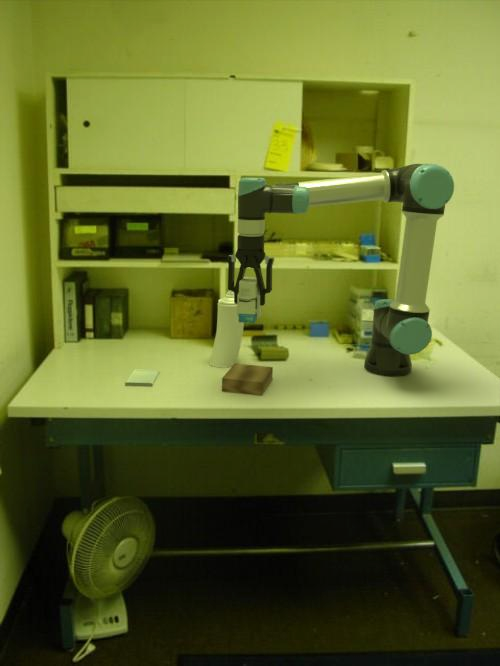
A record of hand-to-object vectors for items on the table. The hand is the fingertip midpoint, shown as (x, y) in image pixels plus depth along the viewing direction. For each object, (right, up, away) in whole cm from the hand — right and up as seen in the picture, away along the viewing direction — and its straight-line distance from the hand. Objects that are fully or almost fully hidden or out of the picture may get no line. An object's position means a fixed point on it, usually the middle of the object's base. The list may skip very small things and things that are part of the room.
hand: (249, 315), depth 178 cm
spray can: (-7, -15, +26) cm, 31 cm away
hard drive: (-32, -20, +9) cm, 39 cm away
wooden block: (0, -21, +6) cm, 21 cm away
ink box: (0, -1, 0) cm, 1 cm away
